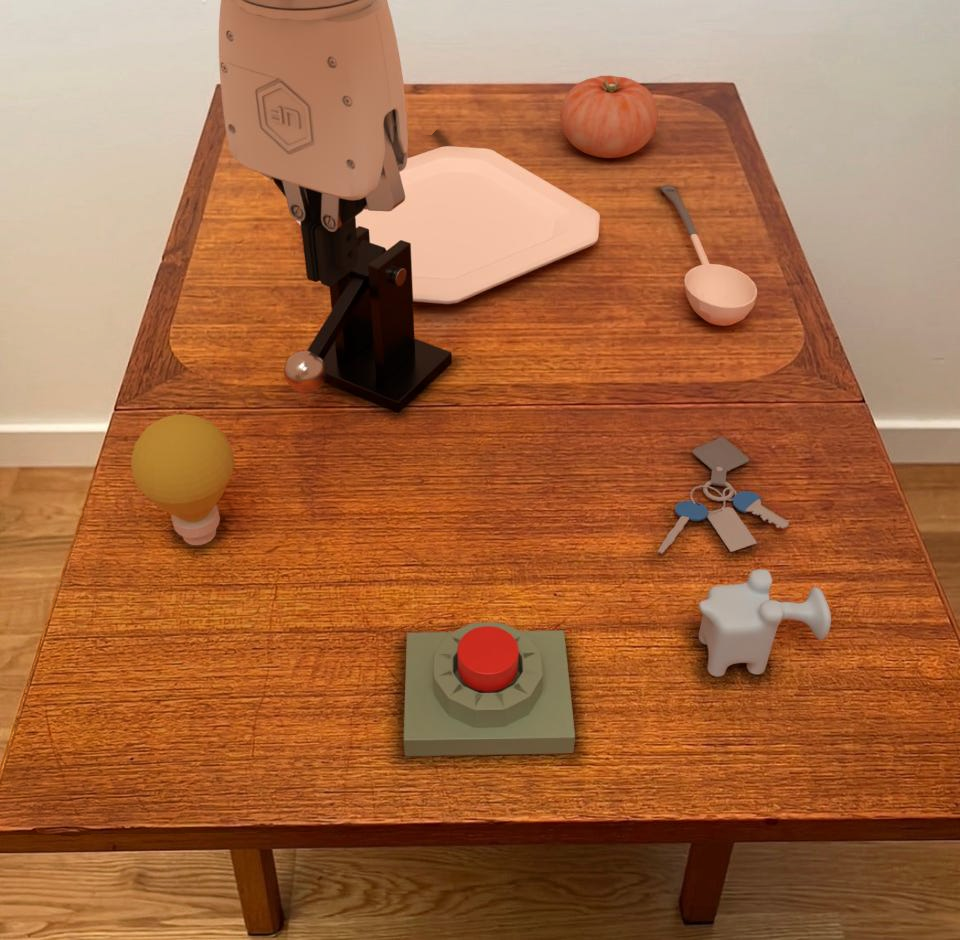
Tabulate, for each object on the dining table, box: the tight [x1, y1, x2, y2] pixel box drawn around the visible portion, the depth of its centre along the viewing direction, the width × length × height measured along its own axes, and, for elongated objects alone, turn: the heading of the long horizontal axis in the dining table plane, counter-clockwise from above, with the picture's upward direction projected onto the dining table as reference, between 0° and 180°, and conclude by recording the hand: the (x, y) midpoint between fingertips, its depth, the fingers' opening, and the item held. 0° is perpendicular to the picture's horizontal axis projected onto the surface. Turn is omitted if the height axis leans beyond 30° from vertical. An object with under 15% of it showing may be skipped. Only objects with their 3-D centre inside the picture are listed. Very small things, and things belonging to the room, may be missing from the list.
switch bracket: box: [323, 226, 453, 414], centre depth 89 cm, size 8×10×12 cm
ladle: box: [659, 184, 758, 327], centre depth 105 cm, size 6×28×5 cm, turn 3°
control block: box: [402, 621, 576, 757], centre depth 66 cm, size 10×8×4 cm
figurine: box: [698, 568, 832, 678], centre depth 68 cm, size 4×8×6 cm, turn 94°
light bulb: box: [130, 413, 235, 546], centre depth 75 cm, size 7×7×10 cm
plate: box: [295, 145, 601, 305], centre depth 108 cm, size 25×25×2 cm
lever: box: [283, 240, 387, 393], centre depth 85 cm, size 13×3×3 cm, turn 149°
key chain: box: [657, 436, 790, 555], centre depth 80 cm, size 14×8×1 cm, turn 159°
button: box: [458, 626, 519, 692], centre depth 65 cm, size 4×4×2 cm
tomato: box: [559, 75, 659, 159], centre depth 120 cm, size 11×11×8 cm
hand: (333, 273), depth 69 cm, fingers closed
